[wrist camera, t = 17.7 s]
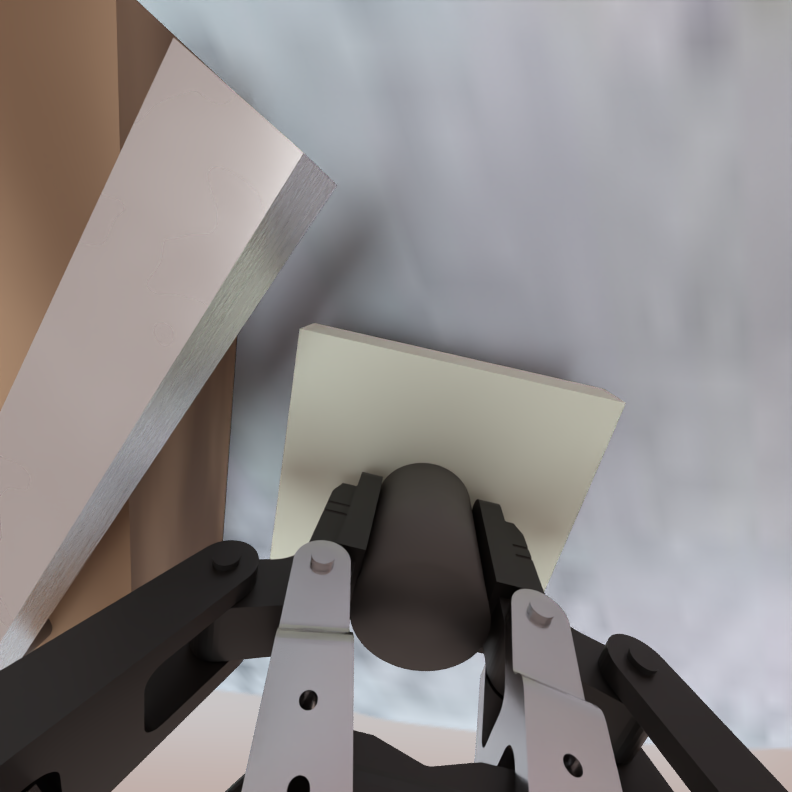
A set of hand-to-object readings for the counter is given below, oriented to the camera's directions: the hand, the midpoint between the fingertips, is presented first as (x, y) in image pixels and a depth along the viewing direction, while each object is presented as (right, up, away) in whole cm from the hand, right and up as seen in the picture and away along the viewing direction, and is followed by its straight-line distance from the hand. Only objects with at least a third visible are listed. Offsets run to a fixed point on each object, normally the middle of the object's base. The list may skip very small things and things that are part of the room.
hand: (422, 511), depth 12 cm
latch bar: (-9, +1, -3) cm, 9 cm away
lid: (0, +1, +2) cm, 2 cm away
